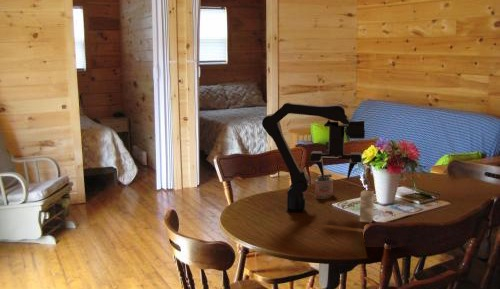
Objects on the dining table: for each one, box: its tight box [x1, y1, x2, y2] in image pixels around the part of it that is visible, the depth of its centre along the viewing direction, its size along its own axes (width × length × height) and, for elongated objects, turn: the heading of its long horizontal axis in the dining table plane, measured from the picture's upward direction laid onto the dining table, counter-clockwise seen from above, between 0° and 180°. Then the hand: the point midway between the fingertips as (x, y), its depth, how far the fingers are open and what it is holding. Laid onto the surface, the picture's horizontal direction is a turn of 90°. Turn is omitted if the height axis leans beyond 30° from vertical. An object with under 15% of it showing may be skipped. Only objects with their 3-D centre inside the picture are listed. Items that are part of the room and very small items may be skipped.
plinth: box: [373, 209, 383, 216], centre depth 201 cm, size 6×6×1 cm
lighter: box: [314, 173, 334, 200], centre depth 224 cm, size 8×3×10 cm, turn 105°
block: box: [359, 189, 375, 224], centre depth 190 cm, size 4×4×11 cm
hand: (335, 178), depth 202 cm, fingers open, 9 cm apart
